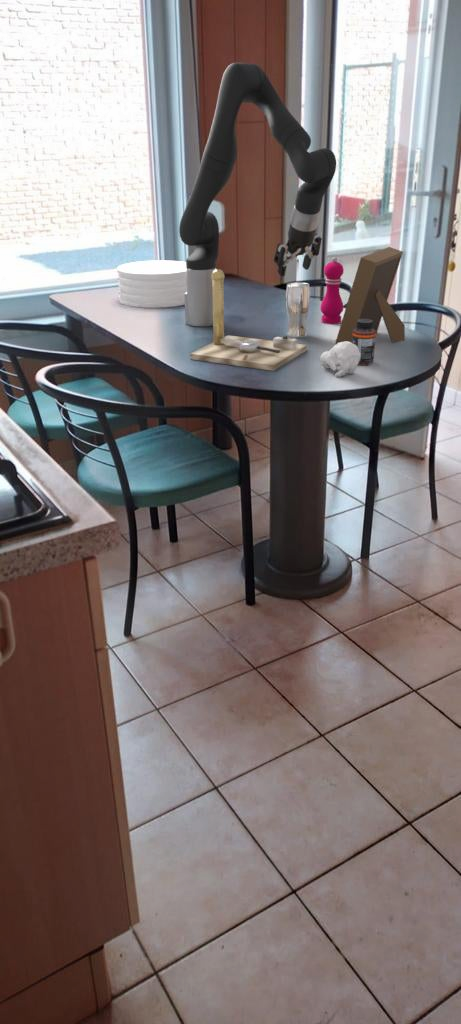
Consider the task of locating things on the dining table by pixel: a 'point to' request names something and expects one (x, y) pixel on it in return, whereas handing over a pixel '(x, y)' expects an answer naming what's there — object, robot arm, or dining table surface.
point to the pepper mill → (332, 293)
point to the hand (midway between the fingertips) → (293, 271)
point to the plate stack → (152, 283)
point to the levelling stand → (254, 359)
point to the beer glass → (297, 308)
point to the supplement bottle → (364, 340)
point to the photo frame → (373, 295)
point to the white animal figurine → (341, 358)
